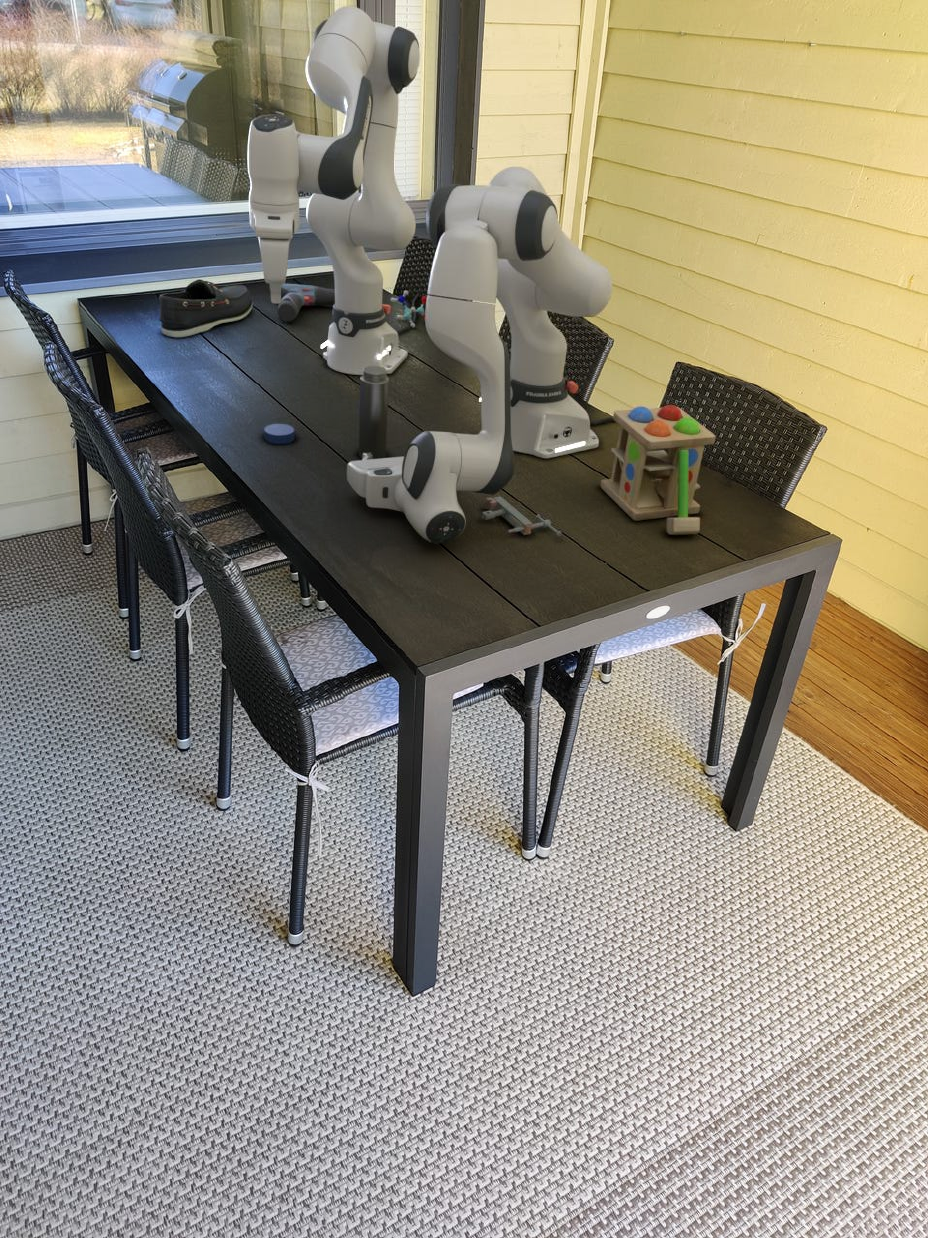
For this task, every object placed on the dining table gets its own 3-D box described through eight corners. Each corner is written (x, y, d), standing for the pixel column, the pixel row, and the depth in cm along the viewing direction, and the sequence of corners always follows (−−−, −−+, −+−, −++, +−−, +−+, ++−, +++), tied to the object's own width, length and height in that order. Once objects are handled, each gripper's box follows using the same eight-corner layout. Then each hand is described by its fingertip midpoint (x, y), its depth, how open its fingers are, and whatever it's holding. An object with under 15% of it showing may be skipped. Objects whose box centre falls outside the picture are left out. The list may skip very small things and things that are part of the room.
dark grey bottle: (385, 461, 195) (388, 376, 185) (357, 459, 194) (359, 373, 184) (386, 450, 199) (389, 365, 189) (359, 448, 199) (361, 363, 189)
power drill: (335, 306, 256) (344, 285, 273) (264, 300, 255) (277, 279, 272) (335, 327, 259) (344, 304, 276) (264, 320, 258) (277, 299, 275)
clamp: (472, 500, 179) (518, 491, 183) (471, 511, 180) (516, 501, 185) (516, 538, 168) (563, 528, 173) (514, 550, 170) (562, 539, 174)
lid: (277, 429, 203) (277, 420, 202) (300, 437, 201) (300, 428, 200) (258, 438, 199) (257, 429, 198) (281, 446, 196) (281, 438, 195)
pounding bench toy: (723, 535, 180) (747, 445, 170) (656, 543, 176) (676, 451, 166) (661, 480, 198) (680, 395, 188) (598, 486, 193) (614, 400, 183)
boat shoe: (271, 314, 265) (269, 274, 259) (179, 339, 241) (175, 296, 235) (235, 305, 270) (233, 266, 265) (143, 329, 246) (138, 287, 241)
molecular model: (427, 319, 259) (415, 282, 258) (396, 332, 263) (384, 296, 261) (442, 321, 269) (430, 285, 268) (412, 333, 273) (400, 298, 272)
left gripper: (258, 202, 184) (260, 277, 192) (254, 229, 168) (257, 310, 175) (292, 204, 185) (293, 279, 193) (292, 231, 169) (293, 311, 176)
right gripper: (469, 465, 177) (442, 434, 187) (360, 475, 170) (338, 443, 180) (466, 496, 181) (439, 464, 191) (359, 508, 173) (338, 474, 184)
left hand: (276, 294), depth 184 cm, fingers open, 8 cm apart
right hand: (389, 454), depth 185 cm, fingers open, 8 cm apart
